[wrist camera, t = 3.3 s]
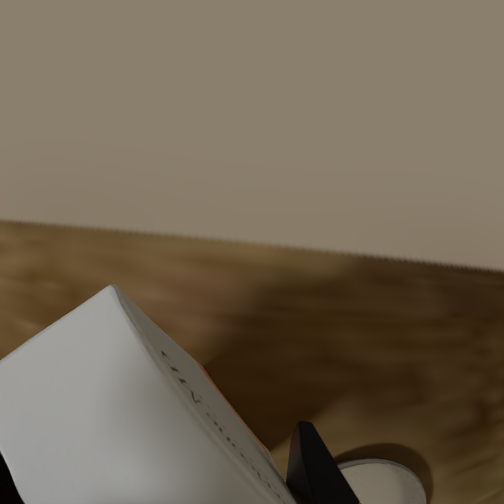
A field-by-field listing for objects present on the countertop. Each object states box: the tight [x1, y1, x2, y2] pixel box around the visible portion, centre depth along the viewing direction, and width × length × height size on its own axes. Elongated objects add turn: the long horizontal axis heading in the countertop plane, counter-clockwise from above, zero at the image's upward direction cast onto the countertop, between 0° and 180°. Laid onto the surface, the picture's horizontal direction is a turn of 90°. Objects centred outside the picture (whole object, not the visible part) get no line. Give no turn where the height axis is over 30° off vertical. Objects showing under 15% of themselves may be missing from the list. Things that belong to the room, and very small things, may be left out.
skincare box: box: [0, 285, 297, 504], centre depth 8 cm, size 6×4×12 cm
